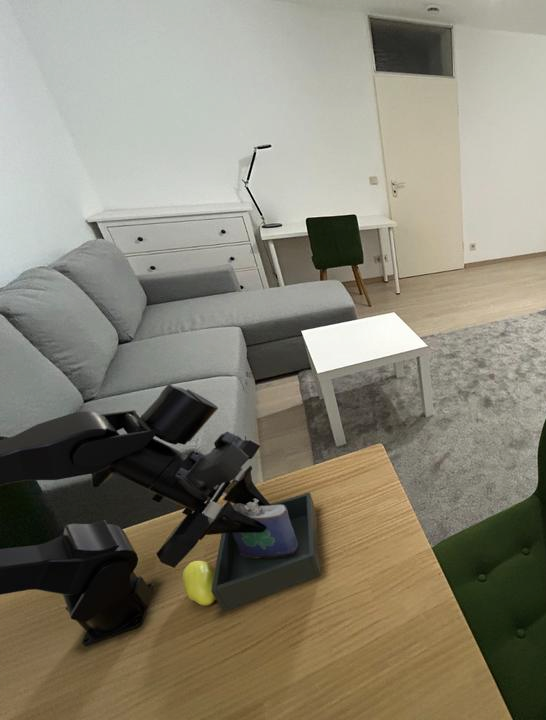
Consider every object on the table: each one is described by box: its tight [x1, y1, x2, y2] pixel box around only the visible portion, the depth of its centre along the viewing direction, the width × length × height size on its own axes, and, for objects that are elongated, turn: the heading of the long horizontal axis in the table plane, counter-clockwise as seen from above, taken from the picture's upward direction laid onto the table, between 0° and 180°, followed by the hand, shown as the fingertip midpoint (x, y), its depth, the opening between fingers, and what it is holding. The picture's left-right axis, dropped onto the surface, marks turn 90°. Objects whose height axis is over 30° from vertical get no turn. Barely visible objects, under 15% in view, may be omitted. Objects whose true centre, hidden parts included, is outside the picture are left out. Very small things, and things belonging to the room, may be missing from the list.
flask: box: [232, 499, 298, 558], centre depth 60 cm, size 9×3×11 cm, turn 89°
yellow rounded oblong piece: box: [182, 560, 217, 607], centre depth 57 cm, size 4×8×4 cm
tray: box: [211, 492, 322, 612], centre depth 62 cm, size 13×13×5 cm
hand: (269, 521), depth 59 cm, fingers closed on flask, 3 cm apart
